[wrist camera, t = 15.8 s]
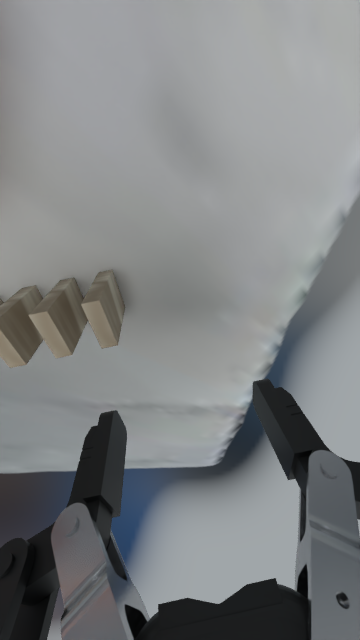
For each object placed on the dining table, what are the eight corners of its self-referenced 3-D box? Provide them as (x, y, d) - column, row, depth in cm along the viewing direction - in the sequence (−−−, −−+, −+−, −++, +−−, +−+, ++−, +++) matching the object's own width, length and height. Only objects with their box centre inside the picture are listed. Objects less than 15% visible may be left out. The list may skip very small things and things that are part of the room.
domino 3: (112, 309, 28) (101, 348, 21) (98, 272, 25) (80, 304, 19) (125, 306, 28) (117, 345, 21) (112, 269, 25) (99, 300, 19)
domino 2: (78, 316, 28) (55, 358, 21) (60, 280, 25) (28, 315, 18) (90, 313, 28) (72, 354, 21) (73, 277, 25) (46, 311, 19)
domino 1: (43, 323, 28) (10, 368, 21) (21, 288, 25) (-25, 326, 18) (55, 321, 28) (26, 364, 21) (35, 285, 25) (-6, 322, 18)
